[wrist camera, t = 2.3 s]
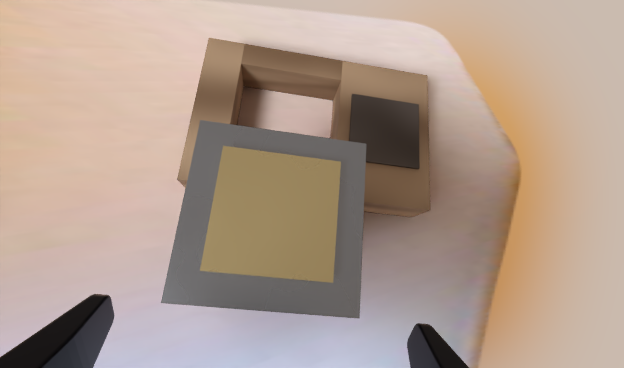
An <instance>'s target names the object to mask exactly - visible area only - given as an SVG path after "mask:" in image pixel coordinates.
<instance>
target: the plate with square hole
mask: <svg viewBox="0 0 624 368" xmlns="http://www.w3.org/2000/svg"><path fill="white" fill-rule="evenodd" d="M244 86H246V87H252V88H258V89H265V90H271V91H277V92H284V93H290V94H296V95H303V96H309V97H315V98H322V99H328V100H333V112H332V125H331V137H330V139H337V140H344V141H351V142H358V143H365V144H366V167H365V192H364V212H373V213H381V214H390V215H398V216H407V217H413V216H416V215H418V214H421V213H424V212H426V211H429V210H430V175H429V130H428V86H427V75H421V74H415V73H409V72H404V71H398V70H392V69H386V68H381V67H375V66H369V65H363V64H357V63H352V62H346V61H340V60H334V59H329V58H323V57H317V56H311V55H306V54H300V53H294V52H288V51H282V50H277V49H271V48H265V47H259V46H254V45H248V44H242V43H236V42H230V41H225V40H219V39H213V38H209V40H208V44H207V49H206V53H205V58H204V62H203V67H202V71H201V75H200V80H199V84H198V89H197V93H196V98H195V102H194V107H193V111H192V116H191V120H190V125H189V129H188V133H187V138H186V142H185V147H184V151H183V156H182V160H181V165H180V169H179V174H178V178H177V180H178V181H179V182H180V183H181V184H182V185H183V186H184V187H185V188H186V184H187V180H188V175H189V170H190V166H191V161H192V156H193V152H194V147H195V142H196V138H197V133H198V128H199V124H200V120H205V121H212V122H219V123H225V124H232V125H237V122H238V116H239V110H240V105H241V99H242V93H243V88H244Z"/></svg>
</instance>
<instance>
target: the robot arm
mask: <svg viewBox="0 0 624 368" xmlns="http://www.w3.org/2000/svg"><path fill="white" fill-rule="evenodd" d="M113 320H114V311H113V306H112V301H111V297H110V296H109V295H102V294H94V295H91V296H89V297H88V298H86V299H85V300H83V301H82V302H81V303H79V304H78V305H76V306H75V307H73V308H72V309H70V310H69V311H67V312H66V313H64V314H63V315H61V316H60V317H59V318H57V319H56V320H54V321H53V322H51V323H50V324H48V325H47V326H45V327H44V328H42V329H41V330H40V331H38V332H37V333H35V334H34V335H32V336H31V337H29V338H28V339H26V340H25V341H23V342H22V343H20V344H19V345H18V346H16V347H15V348H13V349H12V350H10V351H9V352H7V353H6V354H4V355H3V356H1V357H0V368H93V366H94V364H95V362H96V360H97V357H98V355H99V353H100V350H101V348H102V346H103V344H104V341H105V339H106V337H107V334H108V332H109V330H110V328H111V325H112V323H113ZM407 348H408V354H409V361H410V367H411V368H469V367H468V366H467V365H466V364H465V363H464V362H463V361H462V360H461V358H460V357H459V356H458V355H457V354H456V353H455V352H454V351H453V350H452V348H451V347H450V346H449V345H448V344H447V343H446V342H445V341H444V339H443V338H442V337H441V336H440V335H439V334H438V333H437V332H436V331H435V329H434V328H433V327H432V326H430V325H428V324H420V323H418V324H416V325H415V326H414V328H413V330H412V332H411V334H410V336H409V338H408V342H407Z"/></svg>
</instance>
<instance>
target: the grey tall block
mask: <svg viewBox="0 0 624 368" xmlns="http://www.w3.org/2000/svg"><path fill="white" fill-rule="evenodd" d="M365 167H366V144H365V143H358V142H351V141H344V140H337V139H330V138H323V137H316V136H309V135H302V134H295V133H288V132H281V131H274V130H267V129H260V128H253V127H246V126H239V125H232V124H225V123H219V122H212V121H205V120H200V124H199V128H198V133H197V138H196V142H195V147H194V152H193V156H192V161H191V166H190V170H189V175H188V180H187V184H186V189H185V194H184V198H183V203H182V208H181V212H180V217H179V222H178V226H177V231H176V236H175V240H174V245H173V250H172V254H171V259H170V264H169V268H168V273H167V278H166V282H165V287H164V292H163V296H162V301H161V303H168V304H181V305H194V306H207V307H219V308H232V309H245V310H258V311H271V312H284V313H296V314H309V315H322V316H335V317H348V318H359V315H360V290H361V266H362V241H363V216H364V192H365Z"/></svg>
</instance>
